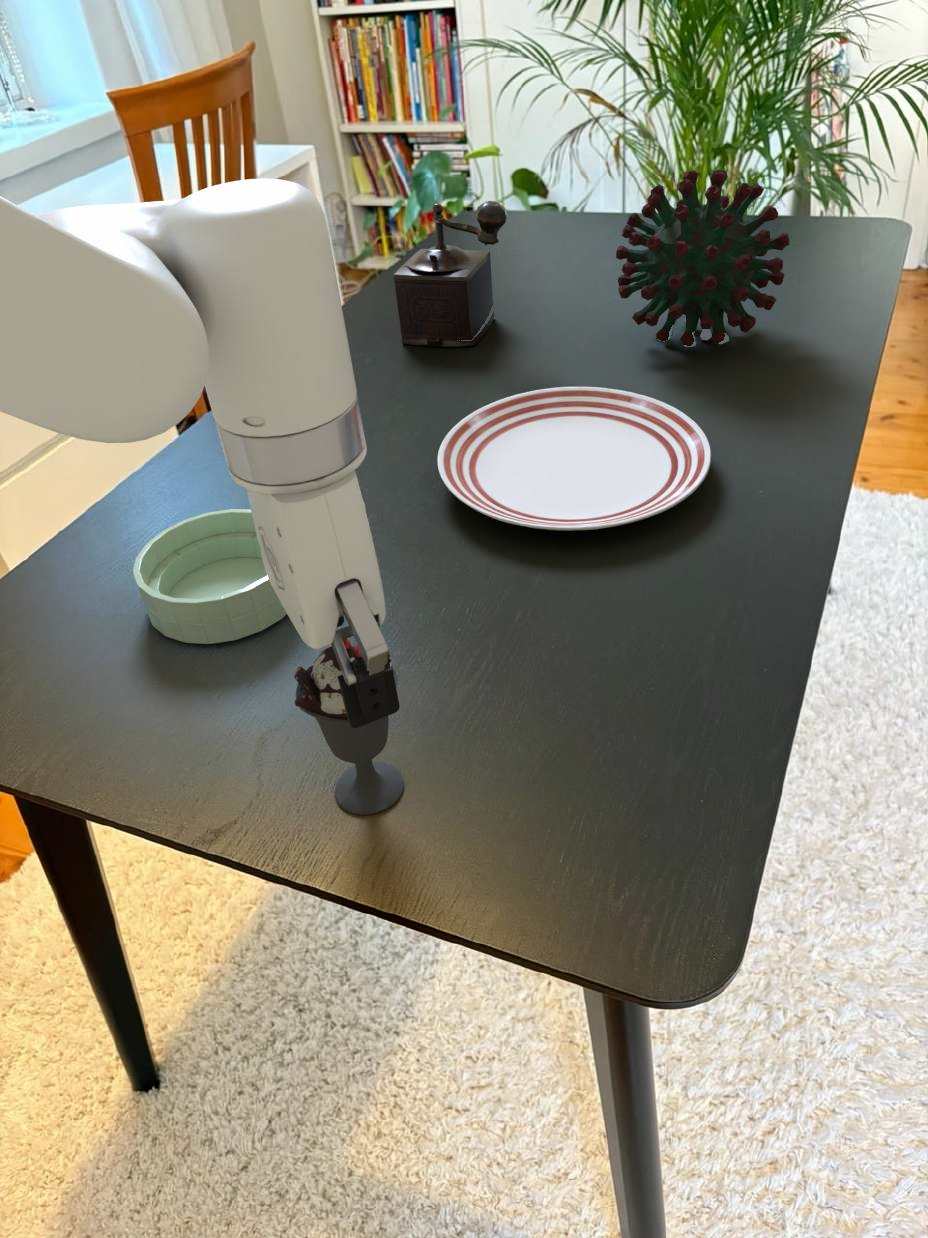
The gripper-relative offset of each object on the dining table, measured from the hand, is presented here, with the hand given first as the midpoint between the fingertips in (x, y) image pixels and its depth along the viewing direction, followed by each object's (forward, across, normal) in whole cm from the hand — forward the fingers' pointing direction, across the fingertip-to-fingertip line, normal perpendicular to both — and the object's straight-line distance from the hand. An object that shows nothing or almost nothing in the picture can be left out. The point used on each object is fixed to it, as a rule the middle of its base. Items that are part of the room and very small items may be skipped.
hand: (346, 671), depth 63 cm
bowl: (+11, -28, -3) cm, 30 cm away
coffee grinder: (+12, -69, +41) cm, 81 cm away
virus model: (+12, -48, +63) cm, 81 cm away
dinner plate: (+12, -29, +34) cm, 46 cm away
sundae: (+11, 0, 0) cm, 11 cm away
